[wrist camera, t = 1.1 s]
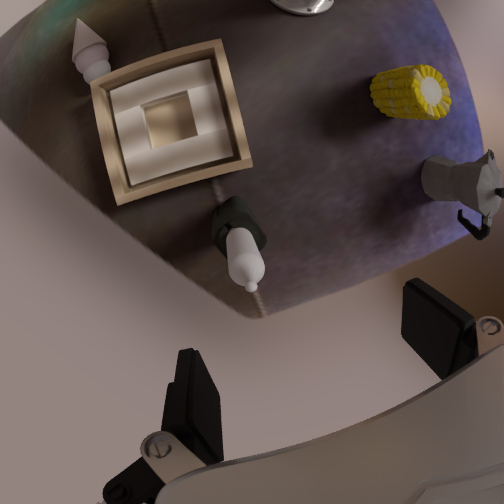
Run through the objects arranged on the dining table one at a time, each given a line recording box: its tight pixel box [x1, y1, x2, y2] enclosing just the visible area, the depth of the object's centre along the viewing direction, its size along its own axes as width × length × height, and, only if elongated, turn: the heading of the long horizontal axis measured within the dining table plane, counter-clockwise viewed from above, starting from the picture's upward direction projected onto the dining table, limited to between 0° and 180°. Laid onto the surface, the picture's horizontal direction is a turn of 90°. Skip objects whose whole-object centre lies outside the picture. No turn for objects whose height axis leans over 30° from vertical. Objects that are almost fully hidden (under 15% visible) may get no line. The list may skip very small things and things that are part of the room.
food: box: [370, 64, 451, 120], centre depth 32 cm, size 14×11×9 cm
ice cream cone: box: [72, 18, 111, 84], centre depth 28 cm, size 6×6×15 cm
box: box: [90, 39, 253, 206], centre depth 34 cm, size 19×19×6 cm
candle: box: [211, 196, 267, 292], centre depth 31 cm, size 5×5×25 cm
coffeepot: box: [421, 149, 504, 240], centre depth 36 cm, size 15×9×18 cm, turn 2°
